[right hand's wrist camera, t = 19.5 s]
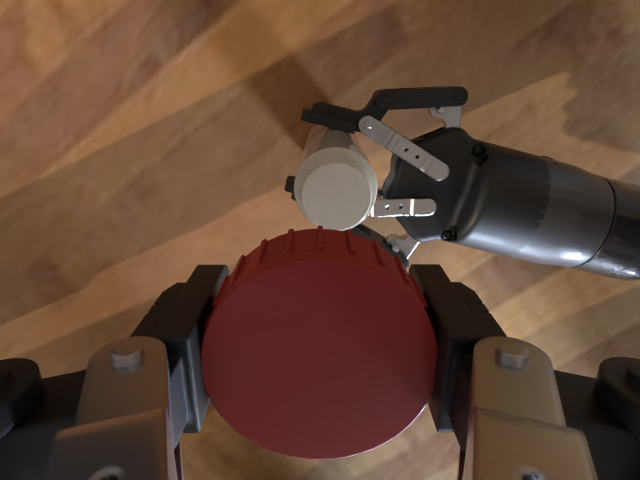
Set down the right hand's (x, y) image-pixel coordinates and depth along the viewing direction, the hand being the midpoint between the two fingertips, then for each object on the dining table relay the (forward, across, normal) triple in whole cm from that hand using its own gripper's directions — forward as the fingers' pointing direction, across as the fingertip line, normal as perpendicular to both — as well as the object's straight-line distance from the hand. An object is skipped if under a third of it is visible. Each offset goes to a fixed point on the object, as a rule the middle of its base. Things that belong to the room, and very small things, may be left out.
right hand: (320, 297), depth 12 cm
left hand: (+21, -2, +1) cm, 21 cm away
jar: (+27, +1, 0) cm, 27 cm away
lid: (-3, 0, 0) cm, 3 cm away
